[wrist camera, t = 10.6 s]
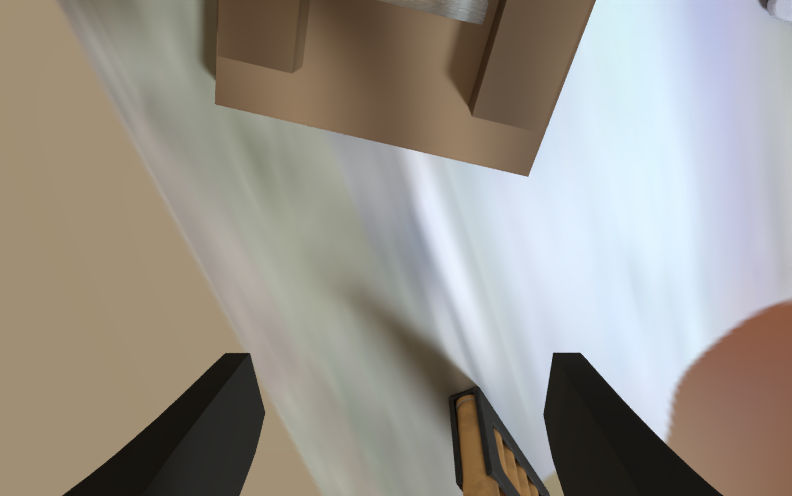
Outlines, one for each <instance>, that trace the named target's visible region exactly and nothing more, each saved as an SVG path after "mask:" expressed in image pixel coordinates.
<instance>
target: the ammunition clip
mask: <svg viewBox="0 0 792 496" xmlns="http://www.w3.org/2000/svg"><path fill="white" fill-rule="evenodd" d="M449 407H450V418H451V429H452V441H453V452H454V463H455V475H456V483H457V485H458V486H459V488H460V489H461V490H462V491H463V496H550V495H549V492H548V490H547V489H546V487H545V486H544V484H543V483H542V481H541V480H540V478H539V477H538V475H537V474H536V472H535V471H534V469H533V468H532V466H531V465H530V463H529V462H528V460H527V459H526V457H525V456H524V454H523V453H522V451H521V450H520V448H519V447H518V445H517V444H516V442H515V441H514V439H513V438H512V436H511V435H510V433H509V432H508V430H507V428H506V427H505V425H504V424H503V422H502V421H501V419H500V418H499V416H498V415H497V413H496V412H495V410H494V409H493V407H492V406H491V404H490V403H489V401H488V400H487V398H486V397H485V395H484V394H483V392H482V391H481V389H480V388H474V389H471V390H469V391H466V392H463V393H460V394H458V395H455V396H452V397H449Z"/></svg>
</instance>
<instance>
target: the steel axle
mask: <svg viewBox="0 0 792 496" xmlns="http://www.w3.org/2000/svg"><path fill="white" fill-rule="evenodd" d="M379 1H383V2H387V3H391V4H395V5H399V6H403V7H407V8H411V9H415V10H419V11H423V12H427V13H431V14H435V15H439V16H444V17H448V18H452V19H457V20H461V21H466V22H471V23H476V24H483V21H484V17H485V14H486V10H487V7H488V3H489V0H379Z"/></svg>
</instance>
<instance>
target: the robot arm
mask: <svg viewBox="0 0 792 496" xmlns="http://www.w3.org/2000/svg"><path fill="white" fill-rule="evenodd" d="M767 11H768V13H769V15H771V16H772V17H774V18H778V19H781V20H785V21H789V22H792V0H769V1H768V4H767ZM543 415H544V420H545V425H546V431H547V436H548V441H549V445H550V450H551V455H552V459H553V462H554V465H555V468H556V471H557V475H558V478H559V481H560V483H561V487H562V490H563V493H564V496H723V495H722V494H720V493H719V492H718V491H717V490H716V489H714V488H713V487H712V486H711V485H710V484H708V483H707V482H706V481H705V480H704V479H703V478H702V477H701V476H699V475H698V474H697V473H696V472H695V471H694V470H693V469H691V467H689V466H688V465H687V464H686V463H685V462H684V461H683V460H682V459H681V458H680V457H679V456H678V455H677V454H676V453H675V452H674V451H672V449H670V448H669V447H668V446H667V445H666V444H665V443H664V442H663V441H662V440H661V439H660V438H659V437H658V436H657V435H656V434H655V433H654V432H653V431H652V430H651V429H650V428H649V427H648V426H647V425H646V424H645V422H644V421H643V420H642V419H641V418H640V417H639V416H638V415H637V414H636V413H635V412H634V411H633V410H632V409H631V408H630V407H629V406H628V405H627V404H626V403H625V402H624V401H623V399H622V398H621V397H620V396H619V395H618V394H617V393H616V392H615V391H614V390H613V388H612V387H611V386H610V385H609V384H608V383H607V382H606V381H605V380H604V378H603V377H602V376H601V375H600V374H599V373H598V372H597V371H596V369H595V368H594V367H593V366H592V365H591V364H590V363H589V362H588V360H587V359H586V358H585V357H584V356H583V355H582V354H581V353H553V358H552V364H551V370H550V377H549V383H548V389H547V395H546V402H545V408H544V414H543ZM264 416H265V410H264V406H263V402H262V399H261V394H260V390H259V387H258V383H257V379H256V375H255V371H254V367H253V363H252V359H251V355H250V353H225V354H224V355H223V356H222V357H221V358H220V359H219V360H218V361H216V363H214V364H213V365H212V366H211V367H210V368H209V369H208V370H207V371H206V372H205V373H204V374H203V375H202V376H201V377H200V378H199V379H198V380H197V381H196V382H195V383H194V384H193V385H192V386H191V387H190V388H189V389H187V390H186V391H185V392H184V393H183V394H182V395H181V396H180V397H179V398H178V399H177V400H176V401H175V402H174V403H173V404H172V405H170V406H169V407H168V408H167V409H166V410H165V411H164V412H163V413H162V414H161V415H160V416H159V417H158V418H157V419H155V420H154V421H153V422H152V423H151V424H150V425H149V426H148V427H146V428H145V429H144V430H143V431H142V432H141V433H139V434H138V435H137V436H136V437H135V438H134V439H133V440H131V441H130V442H129V443H128V444H127V445H126V446H124V447H123V448H122V449H121V450H120V451H119V452H118V453H116V455H114V456H113V457H112V458H110V459H109V460H108V461H107V462H106V463H104V464H103V465H102V466H100V467H99V468H98V469H97V470H95V471H94V472H93V473H92V474H90V475H89V476H88V477H86V478H85V479H84V480H82V481H81V482H80V483H79V484H77V485H76V486H75V487H73V488H72V489H71V490H70V491H68V492H67V493H65V494H64V495H63V496H239V495H240V493H241V490H242V487H243V485H244V482H245V479H246V477H247V474H248V472H249V469H250V466H251V464H252V461H253V458H254V455H255V452H256V448H257V444H258V441H259V437H260V433H261V429H262V424H263V420H264Z"/></svg>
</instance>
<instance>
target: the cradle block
mask: <svg viewBox="0 0 792 496" xmlns="http://www.w3.org/2000/svg"><path fill="white" fill-rule="evenodd" d="M595 1H596V0H489V3H488V7H487V10H486V14H485V17H484V21H483V24H476V23H471V22H466V21H461V20H457V19H452V18H448V17H444V16H439V15H435V14H431V13H427V12H423V11H419V10H415V9H411V8H407V7H403V6H399V5H395V4H391V3H387V2H383V1H379V0H218V15H217V53H216V90H215V104H216V105H221V106H225V107H229V108H234V109H238V110H242V111H247V112H251V113H255V114H260V115H264V116H268V117H273V118H277V119H281V120H285V121H290V122H294V123H298V124H303V125H307V126H311V127H316V128H320V129H324V130H329V131H333V132H337V133H342V134H346V135H350V136H355V137H359V138H363V139H368V140H372V141H376V142H381V143H385V144H389V145H393V146H398V147H402V148H406V149H411V150H415V151H419V152H424V153H428V154H432V155H437V156H441V157H445V158H450V159H454V160H458V161H463V162H467V163H471V164H476V165H480V166H484V167H488V168H493V169H497V170H501V171H506V172H510V173H514V174H519V175H523V176H527V177H528V176H529V173H530V170H531V168H532V165H533V163H534V160H535V157H536V155H537V152H538V150H539V147H540V144H541V142H542V139H543V137H544V134H545V131H546V129H547V126H548V124H549V121H550V118H551V116H552V113H553V111H554V108H555V105H556V103H557V100H558V98H559V95H560V92H561V90H562V87H563V85H564V82H565V79H566V77H567V74H568V72H569V69H570V66H571V64H572V61H573V59H574V56H575V53H576V51H577V48H578V46H579V43H580V40H581V38H582V35H583V33H584V30H585V27H586V25H587V22H588V20H589V17H590V14H591V12H592V9H593V6H594V4H595Z"/></svg>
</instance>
